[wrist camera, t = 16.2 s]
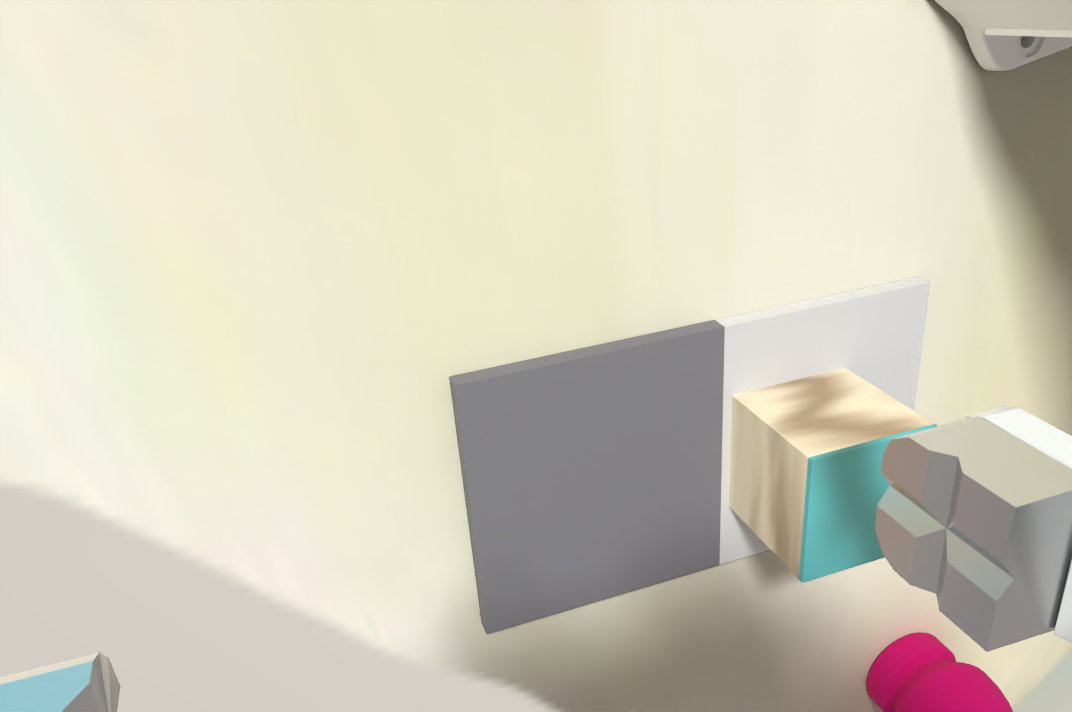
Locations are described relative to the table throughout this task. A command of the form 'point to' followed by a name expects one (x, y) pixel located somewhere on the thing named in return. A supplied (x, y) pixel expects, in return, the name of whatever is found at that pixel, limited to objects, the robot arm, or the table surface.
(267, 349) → the table surface
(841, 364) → the mat
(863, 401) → the beech block
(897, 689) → the pepper mill
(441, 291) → the table surface
